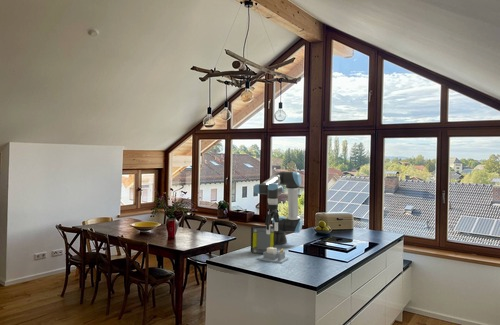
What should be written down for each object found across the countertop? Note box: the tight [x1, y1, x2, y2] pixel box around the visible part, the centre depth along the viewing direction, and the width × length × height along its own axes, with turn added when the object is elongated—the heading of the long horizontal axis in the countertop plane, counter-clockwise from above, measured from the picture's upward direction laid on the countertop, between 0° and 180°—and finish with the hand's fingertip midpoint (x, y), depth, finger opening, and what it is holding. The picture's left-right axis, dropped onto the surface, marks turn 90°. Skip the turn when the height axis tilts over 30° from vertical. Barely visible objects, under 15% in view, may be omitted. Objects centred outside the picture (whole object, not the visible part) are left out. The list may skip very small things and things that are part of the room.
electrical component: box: [250, 225, 275, 254], centre depth 294 cm, size 18×10×20 cm, turn 101°
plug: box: [267, 247, 278, 254], centre depth 273 cm, size 4×6×7 cm
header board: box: [256, 248, 289, 264], centre depth 272 cm, size 12×20×9 cm, turn 61°
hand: (272, 232), depth 273 cm, fingers open, 13 cm apart
